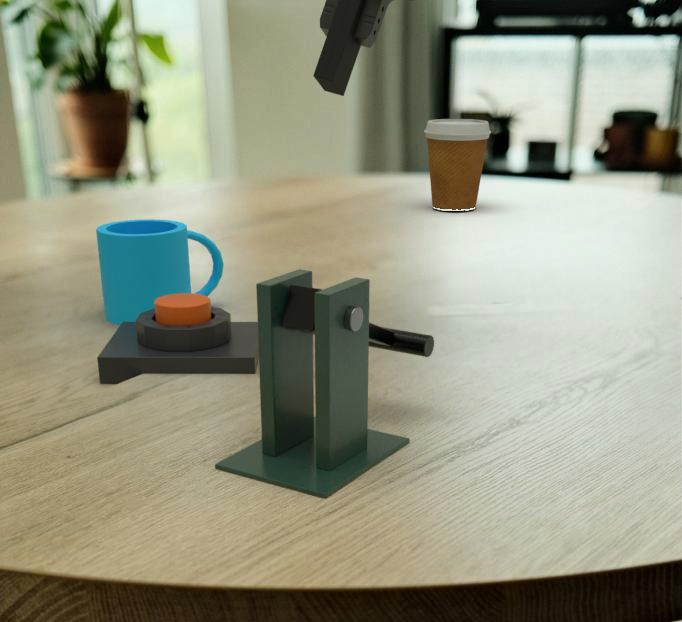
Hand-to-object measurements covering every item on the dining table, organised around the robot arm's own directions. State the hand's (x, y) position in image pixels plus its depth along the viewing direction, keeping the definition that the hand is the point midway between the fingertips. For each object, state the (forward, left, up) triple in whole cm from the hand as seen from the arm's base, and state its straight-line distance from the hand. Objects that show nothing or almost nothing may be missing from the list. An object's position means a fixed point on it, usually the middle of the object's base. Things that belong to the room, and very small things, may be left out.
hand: (328, 85), depth 70 cm
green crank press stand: (-1, -17, -21) cm, 27 cm away
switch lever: (+1, -14, -14) cm, 20 cm away
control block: (-12, +4, -21) cm, 25 cm away
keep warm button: (-12, +4, -18) cm, 22 cm away
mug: (-16, +20, -21) cm, 33 cm away
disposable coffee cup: (+17, +78, -21) cm, 83 cm away
